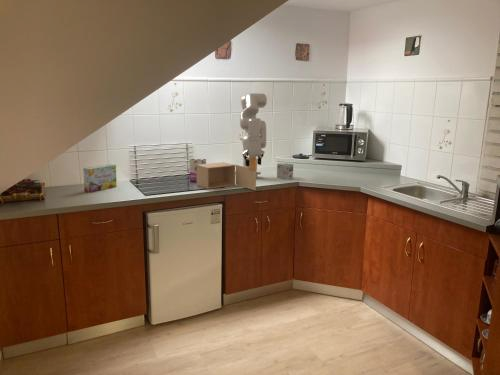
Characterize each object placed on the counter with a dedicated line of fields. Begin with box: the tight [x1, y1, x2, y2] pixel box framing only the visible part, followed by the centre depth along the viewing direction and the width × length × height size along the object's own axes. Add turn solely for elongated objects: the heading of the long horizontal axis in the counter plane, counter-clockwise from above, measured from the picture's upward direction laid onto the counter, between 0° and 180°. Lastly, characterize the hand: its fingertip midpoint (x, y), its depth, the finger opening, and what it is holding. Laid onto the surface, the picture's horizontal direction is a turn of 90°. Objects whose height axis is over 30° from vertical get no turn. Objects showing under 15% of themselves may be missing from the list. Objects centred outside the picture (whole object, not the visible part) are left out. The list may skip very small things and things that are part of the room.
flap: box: [235, 157, 258, 191], centre depth 279 cm, size 22×2×21 cm, turn 37°
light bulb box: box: [276, 162, 294, 180], centre depth 315 cm, size 11×7×11 cm, turn 58°
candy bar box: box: [189, 157, 207, 183], centre depth 297 cm, size 11×5×16 cm, turn 62°
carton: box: [196, 161, 236, 190], centre depth 286 cm, size 22×14×14 cm, turn 128°
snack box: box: [82, 163, 117, 193], centre depth 268 cm, size 21×6×15 cm, turn 148°
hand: (253, 165), depth 272 cm, fingers open, 9 cm apart
